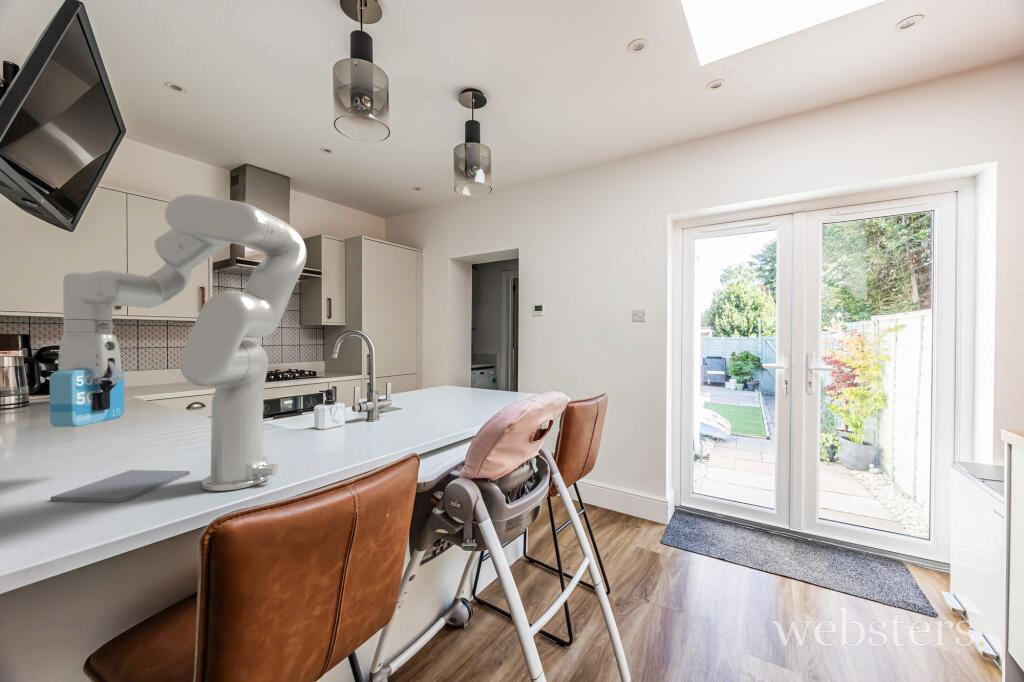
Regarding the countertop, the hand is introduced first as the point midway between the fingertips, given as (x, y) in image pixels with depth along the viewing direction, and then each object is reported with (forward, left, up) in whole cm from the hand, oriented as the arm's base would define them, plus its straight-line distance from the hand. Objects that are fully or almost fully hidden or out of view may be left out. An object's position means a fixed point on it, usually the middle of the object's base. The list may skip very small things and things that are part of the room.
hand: (89, 409), depth 89 cm
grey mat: (-13, +4, -16) cm, 20 cm away
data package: (0, 0, -3) cm, 3 cm away
